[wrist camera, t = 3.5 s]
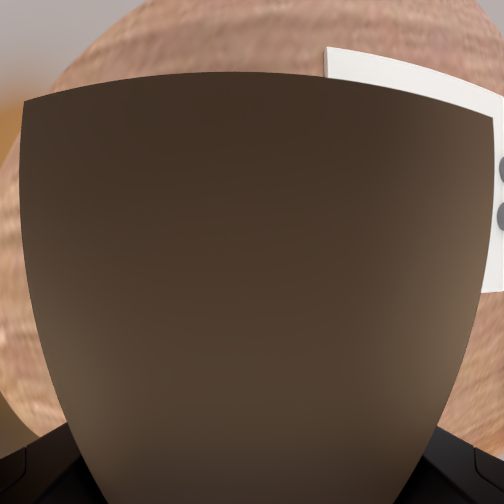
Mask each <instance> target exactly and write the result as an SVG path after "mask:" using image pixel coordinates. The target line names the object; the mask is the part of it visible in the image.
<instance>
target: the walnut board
mask: <svg viewBox="0 0 504 504" xmlns="http://www.w3.org/2000/svg"><path fill="white" fill-rule="evenodd" d="M494 175H495V151H494V127H493V117H490V116H487V115H485V114H482V113H479V112H476V111H473V110H470V109H467V108H464V107H461V106H458V105H455V104H452V103H448V102H445V101H441V100H438V99H434V98H431V97H427V96H423V95H419V94H415V93H411V92H407V91H402V90H398V89H393V88H388V87H383V86H378V85H373V84H367V83H361V82H355V81H349V80H342V79H335V78H327V77H318V76H308V75H297V74H283V73H264V72H202V73H182V74H169V75H158V76H148V77H139V78H131V79H124V80H117V81H111V82H105V83H99V84H94V85H89V86H83V87H79V88H74V89H69V90H65V91H61V92H57V93H53V94H49V95H45V96H41V97H37V98H34V99H31V100H27V101H24V107H23V116H22V126H21V140H20V162H19V196H20V218H21V232H22V243H23V252H24V260H25V268H26V274H27V281H28V287H29V293H30V298H31V303H32V308H33V313H34V317H35V322H36V326H37V330H38V334H39V338H40V342H41V346H42V350H43V353H44V357H45V360H46V364H47V367H48V370H49V373H50V376H51V380H52V383H53V386H54V388H55V391H56V394H57V397H58V400H59V402H60V405H61V408H62V410H63V413H64V415H65V418H66V420H67V423H68V425H69V428H70V430H71V432H72V435H73V437H74V439H75V441H76V443H77V446H78V448H79V450H80V452H81V454H82V456H83V458H84V460H85V462H86V464H87V466H88V468H89V470H90V472H91V474H92V476H93V478H94V480H95V481H96V483H97V485H98V487H99V489H100V490H101V492H102V494H103V496H104V497H105V499H106V501H107V502H108V504H393V503H394V501H395V500H396V498H397V497H398V495H399V494H400V492H401V491H402V489H403V487H404V486H405V484H406V482H407V481H408V479H409V477H410V476H411V474H412V472H413V470H414V469H415V467H416V465H417V463H418V462H419V460H420V458H421V456H422V454H423V452H424V450H425V448H426V446H427V444H428V442H429V440H430V438H431V436H432V434H433V432H434V430H435V428H436V426H437V424H438V422H439V419H440V417H441V415H442V413H443V410H444V408H445V405H446V403H447V401H448V398H449V396H450V393H451V391H452V388H453V385H454V383H455V380H456V377H457V375H458V372H459V369H460V366H461V363H462V360H463V357H464V354H465V351H466V348H467V344H468V341H469V338H470V334H471V331H472V327H473V323H474V319H475V316H476V312H477V307H478V303H479V299H480V294H481V289H482V285H483V279H484V274H485V268H486V262H487V256H488V249H489V242H490V234H491V224H492V214H493V200H494Z"/></svg>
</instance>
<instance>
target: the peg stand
mask: <svg viewBox="0 0 504 504" xmlns="http://www.w3.org/2000/svg"><path fill="white" fill-rule="evenodd" d="M324 77H327V78H335V79H342V80H349V81H355V82H361V83H367V84H373V85H378V86H383V87H388V88H393V89H398V90H402V91H407V92H411V93H415V94H419V95H423V96H427V97H431V98H434V99H438V100H441V101H445V102H448V103H452V104H455V105H458V106H461V107H464V108H467V109H470V110H473V111H476V112H479V113H482V114H485V115H487V116H490V117H493V127H494V151H495V175H494V200H493V214H492V224H491V234H490V242H489V249H488V256H487V262H486V268H485V274H484V279H483V285H482V289H481V293H487V292H499V291H504V97H503V96H500V95H498V94H496V93H494V92H491V91H489V90H487V89H484V88H482V87H479V86H477V85H474V84H472V83H469V82H467V81H464V80H461V79H458V78H456V77H453V76H450V75H447V74H444V73H441V72H438V71H435V70H431V69H428V68H425V67H421V66H418V65H414V64H411V63H407V62H403V61H399V60H395V59H391V58H387V57H382V56H378V55H373V54H368V53H363V52H357V51H352V50H346V49H339V48H333V47H326V49H325V51H324Z"/></svg>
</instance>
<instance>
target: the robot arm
mask: <svg viewBox="0 0 504 504" xmlns="http://www.w3.org/2000/svg"><path fill="white" fill-rule="evenodd" d="M0 504H108V502H107V501H106V499H105V497H104V496H103V494H102V492H101V490H100V489H99V487H98V485H97V483H96V481H95V480H94V478H93V476H92V474H91V472H90V470H89V468H88V466H87V464H86V462H85V460H84V458H83V456H82V454H81V452H80V450H79V448H78V446H77V443H76V441H75V439H74V437H73V435H72V432H71V430H70V428H69V425H68V423H67V422H66V423H64V424H63V425H61V426H59V427H58V428H56V429H54V430H52V431H51V432H49V433H47V434H45V435H44V436H42V437H40V438H38V439H37V440H35V441H33V442H31V443H30V444H28V445H27V446H26V447H22V448H21V449H19V450H17V451H15V452H13V453H11V454H9V455H7V456H5V457H3V458H1V459H0ZM393 504H504V461H502V460H500V459H498V458H496V457H494V456H492V455H490V454H488V453H486V452H484V451H482V450H480V449H479V448H477V447H475V448H474V446H473V445H471V444H469V443H467V442H465V441H463V440H462V439H460V438H458V437H456V436H454V435H453V434H451V433H449V432H447V431H445V430H444V429H442V428H440V427H438V426H436V428H435V430H434V432H433V434H432V436H431V438H430V440H429V442H428V444H427V446H426V448H425V450H424V452H423V454H422V456H421V458H420V460H419V462H418V463H417V465H416V467H415V469H414V470H413V472H412V474H411V476H410V477H409V479H408V481H407V482H406V484H405V486H404V487H403V489H402V491H401V492H400V494H399V495H398V497H397V498H396V500H395V501H394V503H393Z"/></svg>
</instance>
